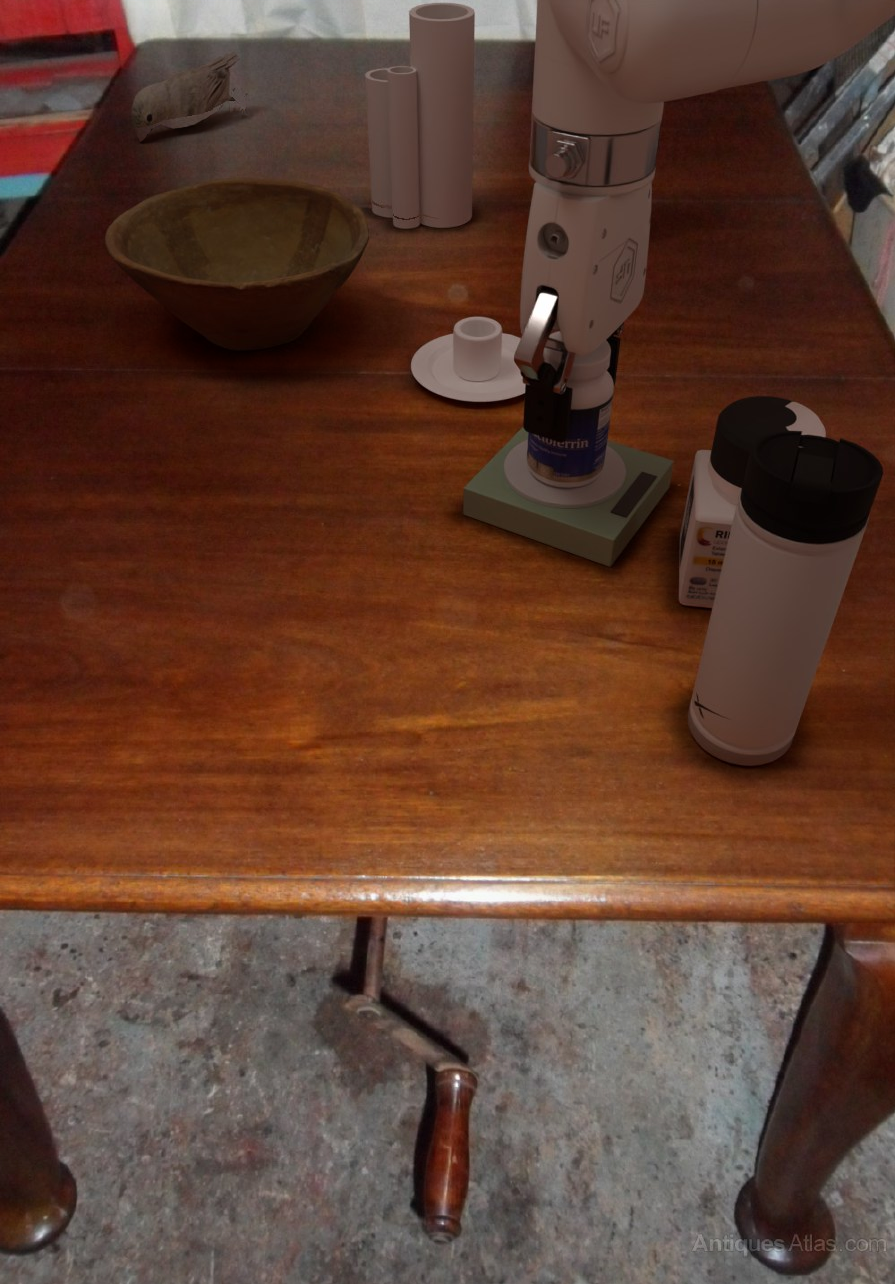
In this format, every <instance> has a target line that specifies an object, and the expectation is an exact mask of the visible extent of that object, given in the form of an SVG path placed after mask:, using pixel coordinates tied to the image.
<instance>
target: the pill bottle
mask: <svg viewBox="0 0 895 1284" xmlns="http://www.w3.org/2000/svg"><path fill="white" fill-rule="evenodd" d="M549 338H553V339H556V340H560V341H563V339H562V336H561V332H560V331H559V330H557V331H554V332H553V333H552V332H551V334H550V336H549ZM561 354H562V352H559V351H555V350H552V349H548V348H544V358H545V360H544V361H545V362H546V363H549V364H551V365H552V366H553V367H554V369H555V370H556V371H557V369H558V365H559V361H560V358H561ZM610 355H611V348H610V345H609V343H608V342H607V341H606V340H605V341H604V342H603V343H602V344H601V345H600V346H599V347H598V348H597V349H596V350H595V351H593V352H592V353H590V354H588V355H586V356H578V355H577V354H576V355H575V359H574V363H573V366H572V370H571V374H570V377H569V381H568V385H567V387H569V388H572V389H573V392H572V403H571V414H570V425H569V436H568V438H567V439H566V440H565V441H564V442H562V443H561V442H557V441H554V440H551V439H547V438H544V437H541V436H538V435H535V434H532V433H529V432H528V446H527V466H528V468H529V470H530V472H531V473H532V474H533V476H534V477H536V478H537V479H538V480H540V481H541V482H543V483H546V484H548V485H552V486H556V487H565V488H572V487H579V486H583V485H586V484H589V483H591V482H592V481H594V480H595V479H597V478H598V477H599V475H600V474H601V472H602V470H603V467H604V462H605V454H606V447H607V440H609V439H608V437H609V431H610V424H611V417H612V416H611V415H612V406H613V399H614V393H615V392H614V391H615V386H614V383H613V379H612V377H611V375H610V374H609V372H608V371H607V369H608V368H609V365H610Z"/></svg>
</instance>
